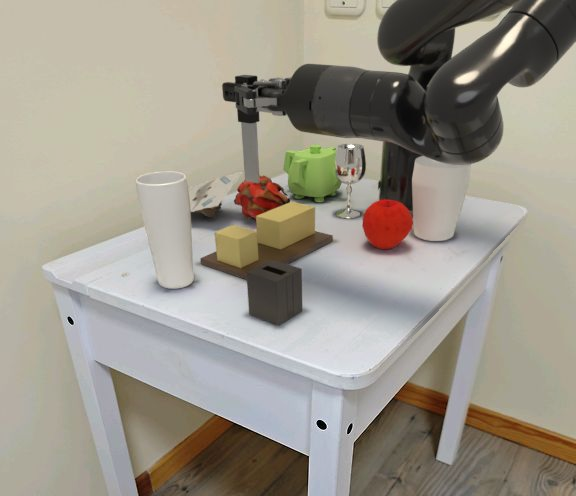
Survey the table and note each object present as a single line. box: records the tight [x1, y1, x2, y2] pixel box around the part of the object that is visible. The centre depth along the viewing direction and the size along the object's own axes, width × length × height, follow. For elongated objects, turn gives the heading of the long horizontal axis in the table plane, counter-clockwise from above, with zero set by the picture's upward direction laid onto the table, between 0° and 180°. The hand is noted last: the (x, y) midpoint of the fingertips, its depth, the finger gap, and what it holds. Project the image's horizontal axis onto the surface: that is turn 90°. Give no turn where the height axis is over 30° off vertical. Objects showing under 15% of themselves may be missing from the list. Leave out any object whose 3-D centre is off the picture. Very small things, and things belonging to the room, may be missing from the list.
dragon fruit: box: [233, 174, 291, 221], centre depth 101 cm, size 8×8×12 cm
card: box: [188, 170, 244, 218], centre depth 105 cm, size 11×15×5 cm
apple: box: [362, 199, 414, 250], centre depth 90 cm, size 8×8×7 cm
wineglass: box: [334, 143, 367, 219], centre depth 102 cm, size 6×6×12 cm
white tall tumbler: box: [135, 170, 195, 290], centre depth 78 cm, size 7×7×15 cm
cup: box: [412, 156, 472, 242], centre depth 92 cm, size 9×9×12 cm
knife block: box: [246, 260, 303, 326], centre depth 72 cm, size 5×5×6 cm
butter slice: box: [214, 224, 258, 268], centre depth 85 cm, size 4×5×4 cm
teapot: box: [283, 143, 343, 203], centre depth 113 cm, size 12×12×10 cm
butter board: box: [200, 230, 334, 281], centre depth 91 cm, size 20×11×1 cm, turn 140°
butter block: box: [255, 201, 316, 250], centre depth 92 cm, size 9×5×4 cm, turn 141°
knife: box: [234, 74, 260, 183], centre depth 77 cm, size 2×3×14 cm
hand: (230, 90), depth 76 cm, fingers closed on knife, 2 cm apart
